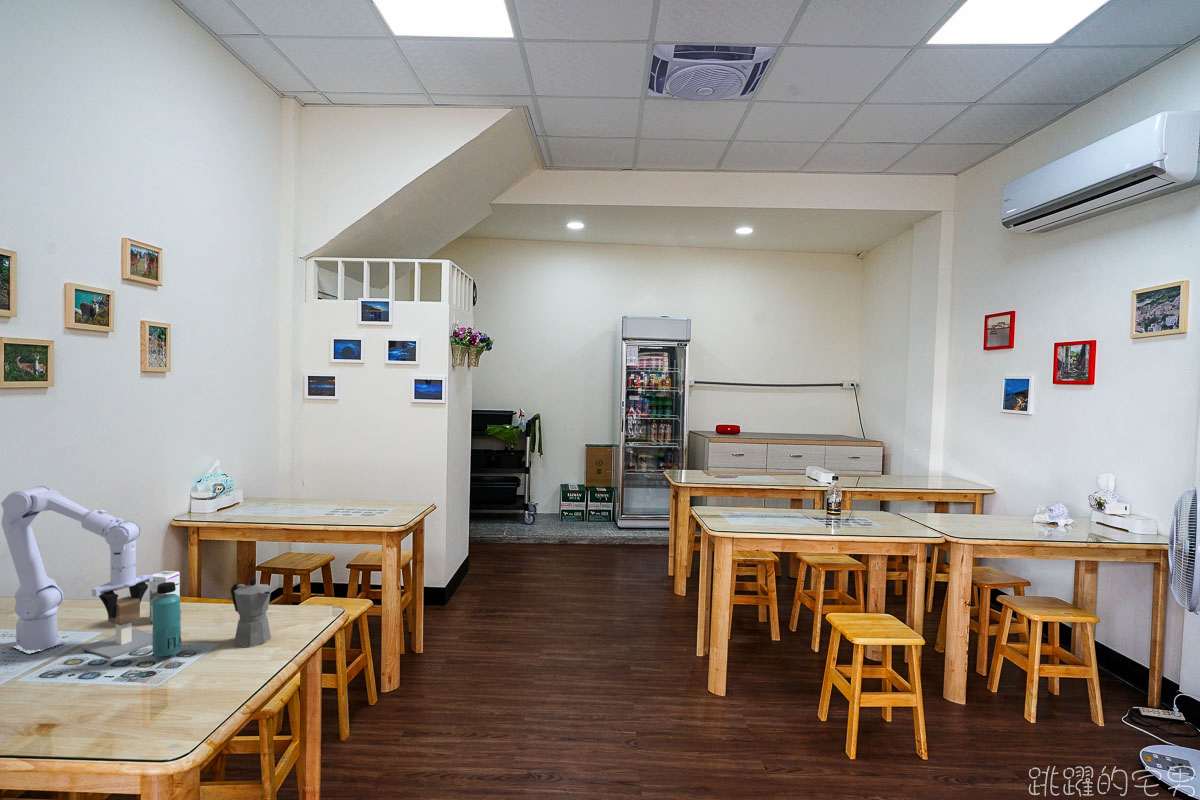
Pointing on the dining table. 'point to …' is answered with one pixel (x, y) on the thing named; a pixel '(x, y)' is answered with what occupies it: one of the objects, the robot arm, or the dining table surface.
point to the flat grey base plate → (120, 642)
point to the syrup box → (158, 579)
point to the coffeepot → (251, 613)
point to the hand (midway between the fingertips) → (123, 613)
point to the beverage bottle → (166, 621)
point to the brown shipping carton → (126, 610)
